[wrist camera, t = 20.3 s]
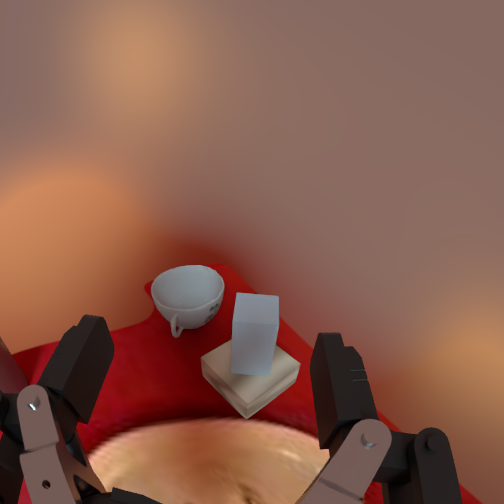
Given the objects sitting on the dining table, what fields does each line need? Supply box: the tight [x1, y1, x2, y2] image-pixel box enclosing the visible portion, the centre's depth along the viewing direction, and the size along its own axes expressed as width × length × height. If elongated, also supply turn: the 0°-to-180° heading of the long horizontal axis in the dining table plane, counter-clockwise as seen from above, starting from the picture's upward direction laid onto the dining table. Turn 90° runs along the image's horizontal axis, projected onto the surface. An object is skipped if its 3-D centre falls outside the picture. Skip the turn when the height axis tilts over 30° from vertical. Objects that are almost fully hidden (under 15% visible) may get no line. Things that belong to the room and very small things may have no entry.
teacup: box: [151, 265, 224, 338], centre depth 50 cm, size 15×12×8 cm
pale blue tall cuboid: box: [231, 293, 279, 376], centre depth 38 cm, size 5×5×10 cm
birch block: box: [201, 339, 300, 419], centre depth 41 cm, size 10×10×5 cm
